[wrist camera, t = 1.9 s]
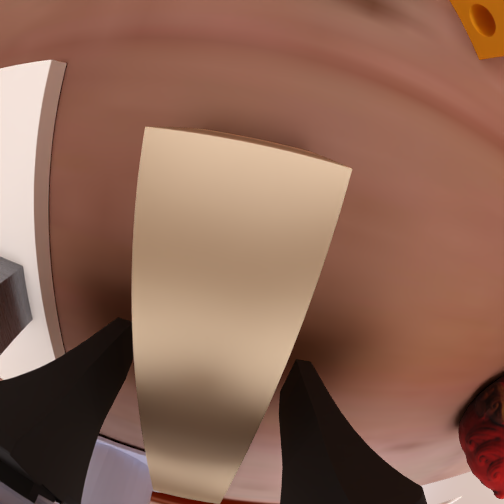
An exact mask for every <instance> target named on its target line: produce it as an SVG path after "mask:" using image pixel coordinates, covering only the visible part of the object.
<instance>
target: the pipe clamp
mask: <svg viewBox="0 0 504 504" xmlns="http://www.w3.org/2000/svg"><path fill="white" fill-rule="evenodd" d="M450 2H451V4H452V5H453V7H454V9H455V11H456V12H457V14H458V16H459V18H460V20H461V22H462V24H463V25H464V27H465V29H466V31H467V34H468V36H469V38H470V40H471V42H472V44H473V46H474V49H475V51H476V53H477V55H478V58H479V60H481V59H488V58H494V57H502V56H504V0H450Z"/></svg>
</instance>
